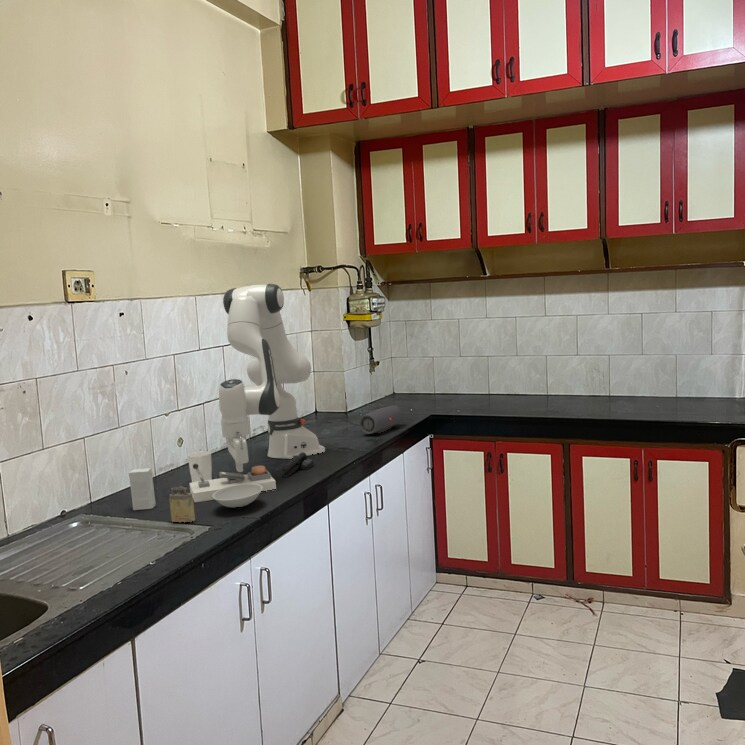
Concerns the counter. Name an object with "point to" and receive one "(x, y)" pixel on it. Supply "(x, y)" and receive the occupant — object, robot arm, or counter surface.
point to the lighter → (181, 505)
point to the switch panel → (209, 487)
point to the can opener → (297, 464)
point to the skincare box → (142, 489)
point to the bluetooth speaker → (380, 420)
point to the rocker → (231, 475)
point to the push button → (258, 470)
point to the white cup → (200, 465)
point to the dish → (237, 495)
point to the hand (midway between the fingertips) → (239, 471)
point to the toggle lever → (198, 472)
